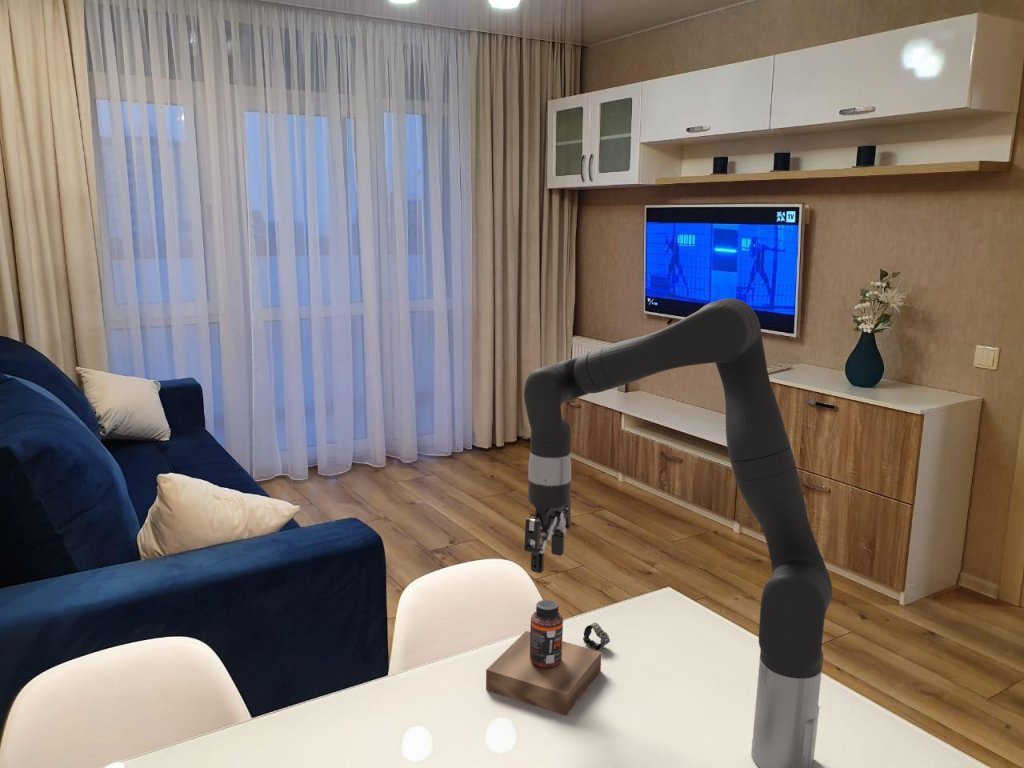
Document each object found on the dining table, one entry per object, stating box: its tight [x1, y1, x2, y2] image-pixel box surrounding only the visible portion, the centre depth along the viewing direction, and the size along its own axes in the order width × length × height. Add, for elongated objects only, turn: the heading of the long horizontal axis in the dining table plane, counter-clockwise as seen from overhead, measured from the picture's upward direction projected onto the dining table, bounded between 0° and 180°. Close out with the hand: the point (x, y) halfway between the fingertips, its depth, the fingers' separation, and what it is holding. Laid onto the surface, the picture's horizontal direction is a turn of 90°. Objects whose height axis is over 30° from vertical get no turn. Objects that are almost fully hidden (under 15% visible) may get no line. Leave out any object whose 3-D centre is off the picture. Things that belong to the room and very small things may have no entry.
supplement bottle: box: [529, 599, 564, 668], centre depth 151 cm, size 6×6×11 cm
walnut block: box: [485, 630, 602, 716], centre depth 152 cm, size 16×16×4 cm
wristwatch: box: [582, 622, 611, 651], centre depth 165 cm, size 3×5×5 cm
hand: (547, 562), depth 148 cm, fingers open, 8 cm apart
